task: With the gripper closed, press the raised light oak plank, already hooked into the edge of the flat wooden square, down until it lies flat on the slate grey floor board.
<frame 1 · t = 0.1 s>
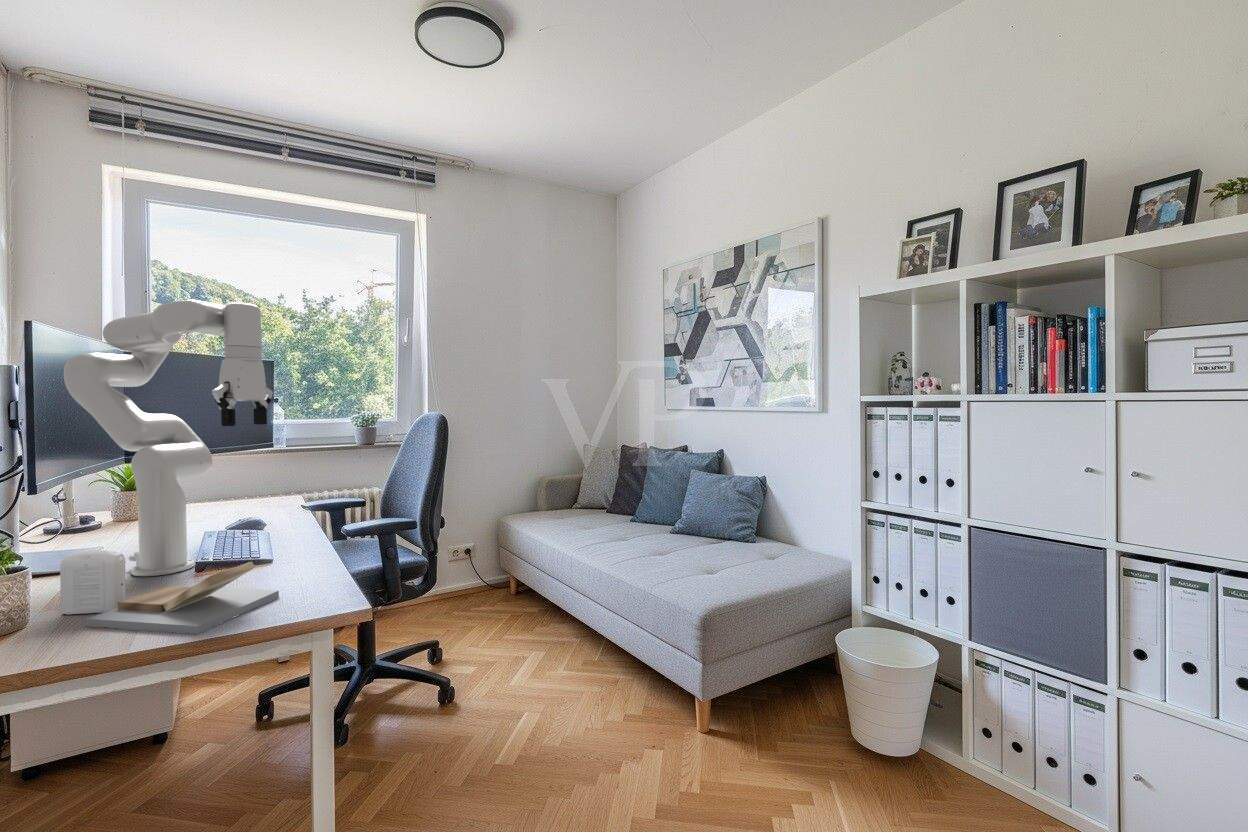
hand: (245, 425, 141), 37 cm above the table, tool pointing down, fingers open, 9 cm apart
floor board: (189, 610, 117), on the table
oak plank: (210, 585, 116), point 5 cm above the table, hinge at 30.0°
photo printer: (94, 612, 117), on the table
flat wooden square: (163, 602, 118), resting on floor board
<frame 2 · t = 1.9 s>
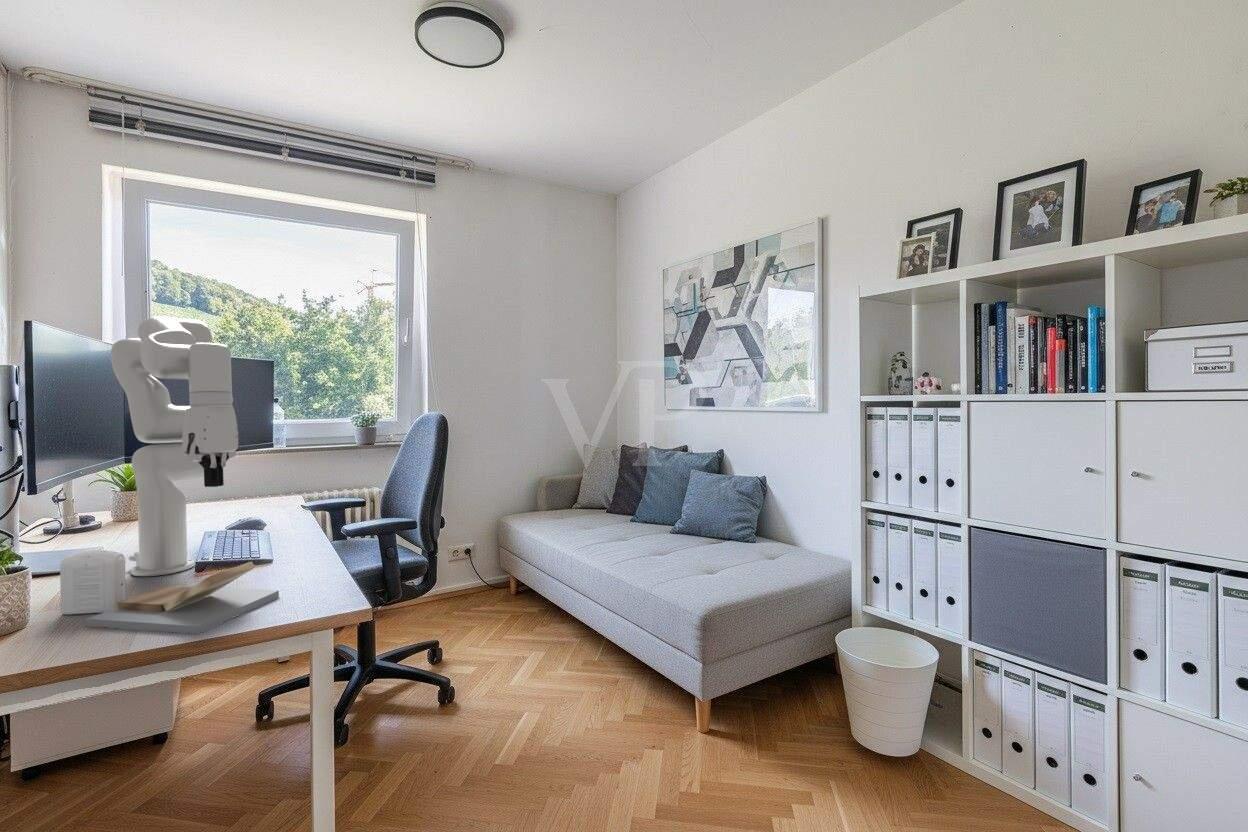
hand: (214, 486, 125), 24 cm above the table, tool pointing down, fingers closed
nothing on the table moved.
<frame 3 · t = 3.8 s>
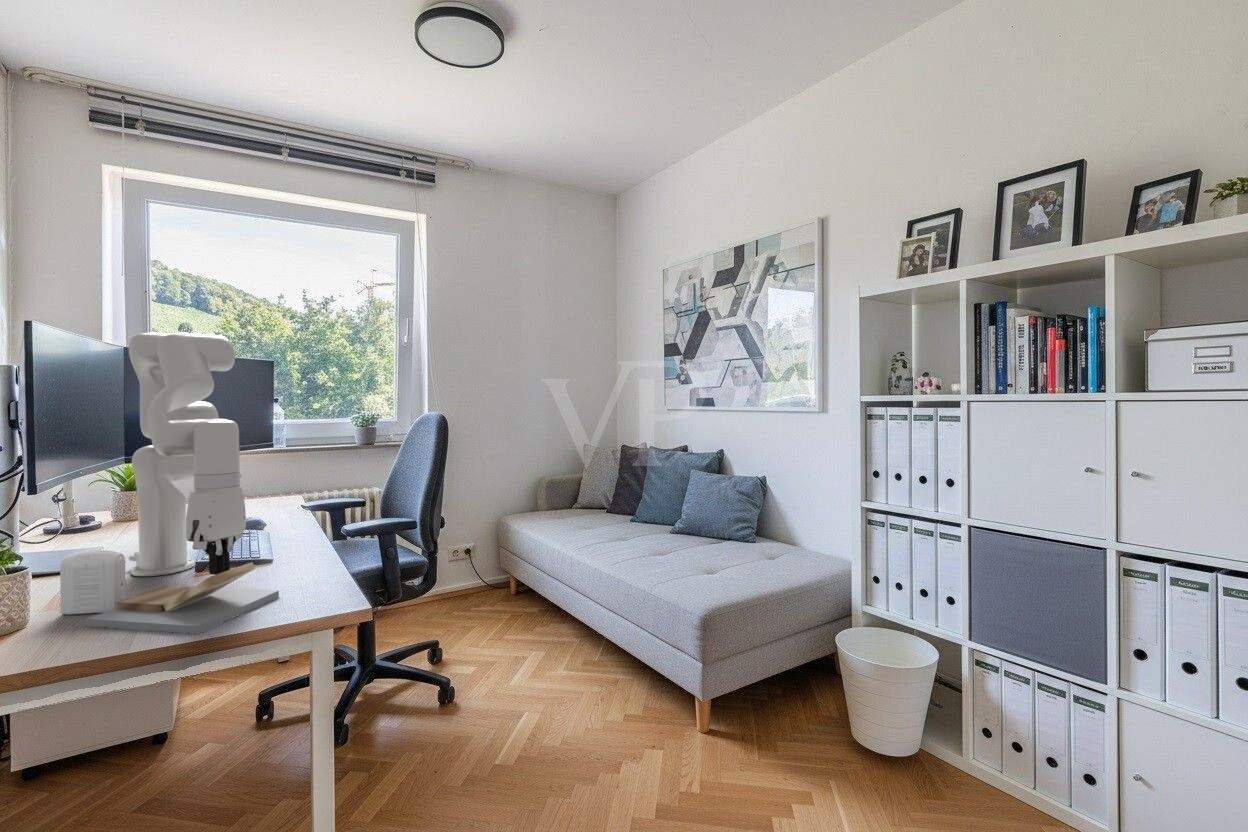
hand: (219, 573, 116), 8 cm above the table, tool pointing down, fingers closed
oak plank: (210, 585, 116), point 5 cm above the table, hinge at 29.1°, touching gripper
everything else where it was.
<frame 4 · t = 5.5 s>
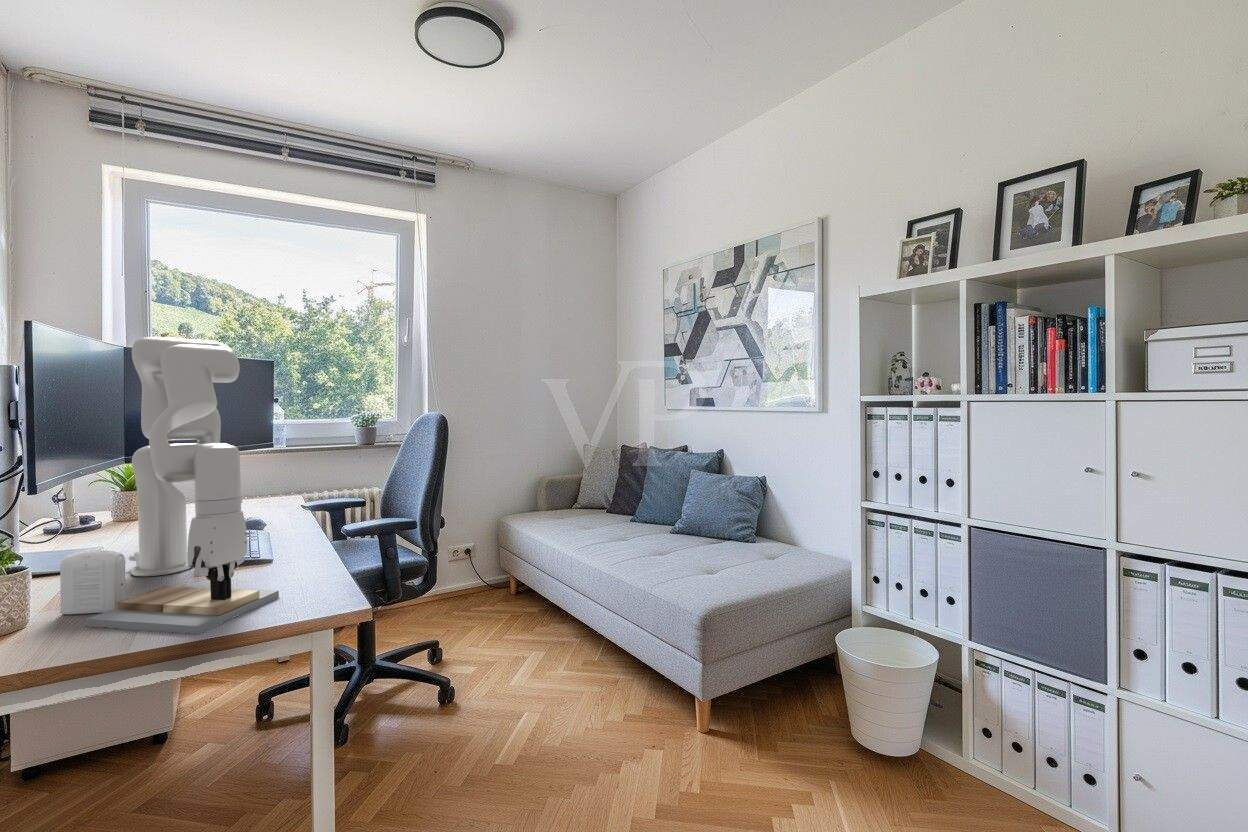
hand: (221, 598, 116), 3 cm above the table, tool pointing down, fingers closed
oak plank: (212, 601, 116), point 2 cm above the table, hinge at 0.5°, touching gripper
everything else where it was.
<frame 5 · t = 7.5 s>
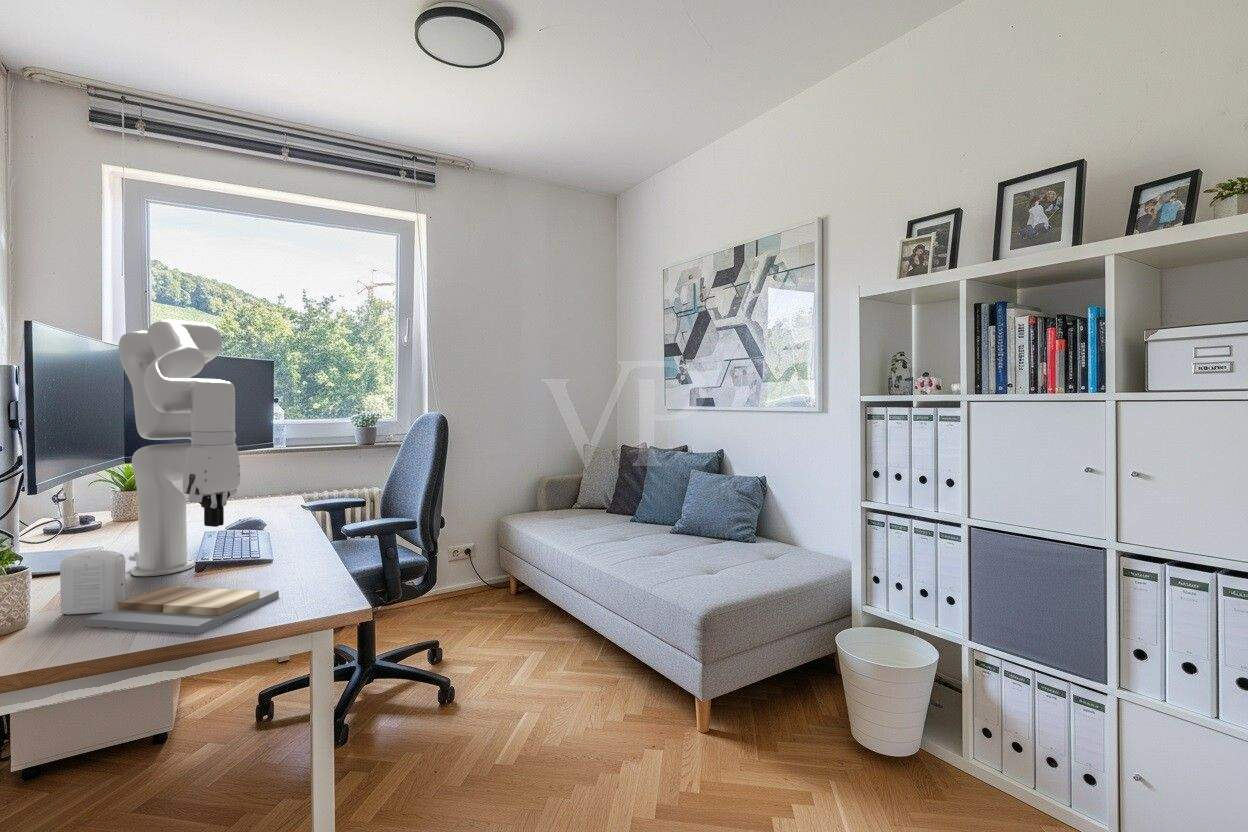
hand: (213, 525, 123), 16 cm above the table, tool pointing down, fingers closed
oak plank: (212, 601, 116), point 2 cm above the table, hinge at 0.3°
everything else where it was.
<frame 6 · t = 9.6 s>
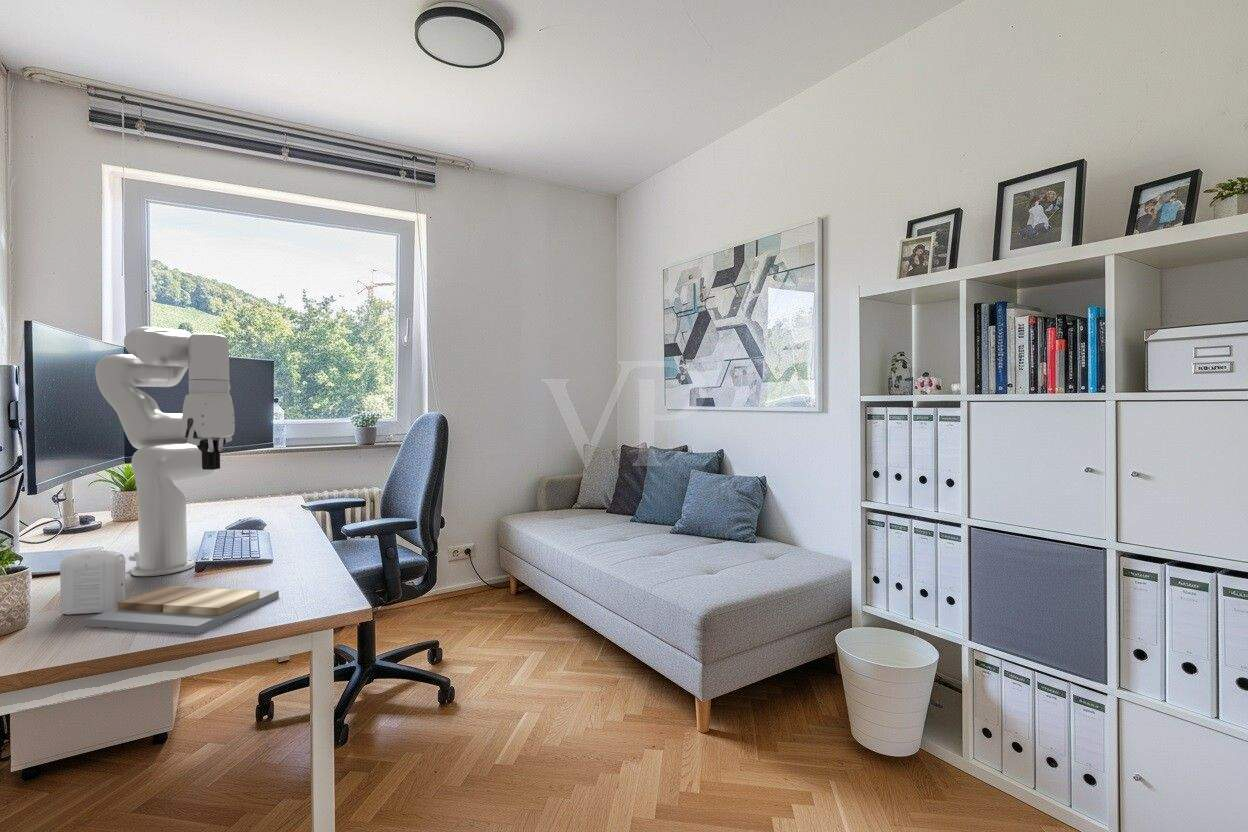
hand: (211, 469, 132), 27 cm above the table, tool pointing down, fingers closed
nothing on the table moved.
at the end: oak plank at +0° (first picture: +30°) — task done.
